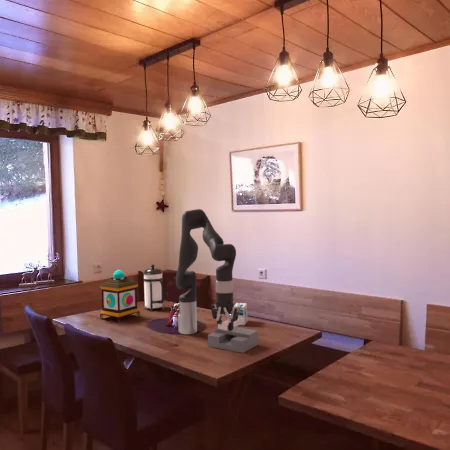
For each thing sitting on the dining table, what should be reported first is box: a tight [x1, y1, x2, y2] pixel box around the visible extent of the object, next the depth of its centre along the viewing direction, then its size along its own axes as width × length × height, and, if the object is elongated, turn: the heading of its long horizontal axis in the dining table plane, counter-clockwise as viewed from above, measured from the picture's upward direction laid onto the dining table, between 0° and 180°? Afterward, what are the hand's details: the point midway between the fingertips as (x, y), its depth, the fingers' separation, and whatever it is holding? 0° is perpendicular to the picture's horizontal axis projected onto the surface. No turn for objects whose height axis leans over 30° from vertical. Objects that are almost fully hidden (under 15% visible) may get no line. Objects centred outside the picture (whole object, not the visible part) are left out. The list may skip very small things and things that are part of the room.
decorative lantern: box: [99, 269, 140, 323], centre depth 274 cm, size 20×20×30 cm
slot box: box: [207, 326, 259, 354], centre depth 216 cm, size 20×14×7 cm
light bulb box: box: [232, 302, 248, 326], centre depth 256 cm, size 11×7×11 cm, turn 168°
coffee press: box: [142, 264, 166, 312], centre depth 295 cm, size 17×16×30 cm
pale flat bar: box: [218, 317, 244, 330], centre depth 194 cm, size 5×14×2 cm, turn 147°
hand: (225, 329), depth 190 cm, fingers closed on pale flat bar, 5 cm apart
